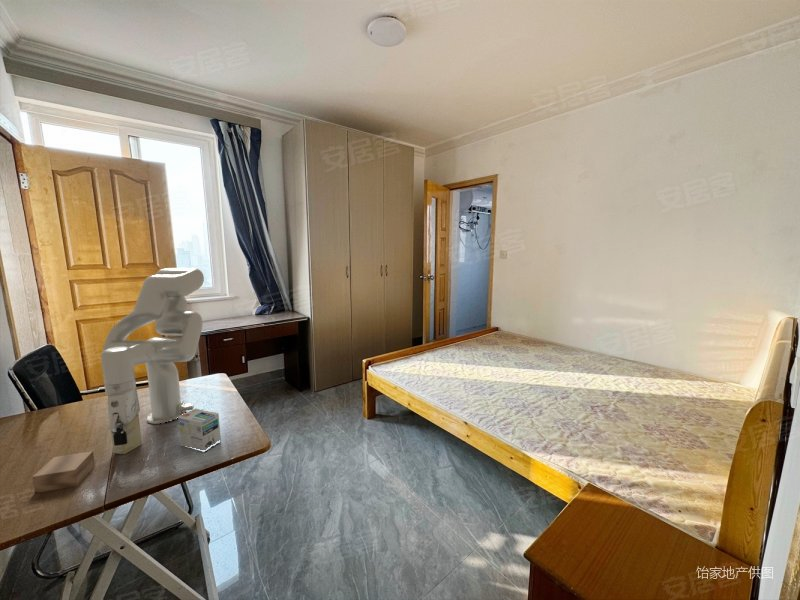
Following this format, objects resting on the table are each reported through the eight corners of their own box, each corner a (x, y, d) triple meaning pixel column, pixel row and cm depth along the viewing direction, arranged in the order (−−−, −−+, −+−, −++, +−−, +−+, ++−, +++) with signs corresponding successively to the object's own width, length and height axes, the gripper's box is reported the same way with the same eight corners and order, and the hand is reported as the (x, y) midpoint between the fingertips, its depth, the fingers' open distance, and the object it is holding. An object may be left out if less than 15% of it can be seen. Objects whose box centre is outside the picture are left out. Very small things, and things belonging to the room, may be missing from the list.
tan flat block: (95, 466, 100) (93, 451, 99) (77, 486, 92) (75, 469, 91) (56, 472, 97) (54, 456, 96) (35, 493, 89) (32, 476, 88)
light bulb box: (221, 442, 113) (219, 412, 111) (204, 453, 106) (201, 422, 105) (198, 436, 116) (195, 407, 114) (179, 447, 110) (177, 416, 108)
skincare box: (124, 455, 105) (120, 418, 103) (112, 453, 106) (108, 417, 104) (142, 443, 111) (139, 409, 110) (131, 442, 112) (127, 408, 110)
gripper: (122, 395, 99) (128, 450, 101) (145, 375, 115) (150, 423, 117) (91, 398, 96) (98, 455, 99) (119, 377, 113) (124, 426, 115)
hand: (126, 437), depth 108 cm, fingers closed on skincare box, 7 cm apart
